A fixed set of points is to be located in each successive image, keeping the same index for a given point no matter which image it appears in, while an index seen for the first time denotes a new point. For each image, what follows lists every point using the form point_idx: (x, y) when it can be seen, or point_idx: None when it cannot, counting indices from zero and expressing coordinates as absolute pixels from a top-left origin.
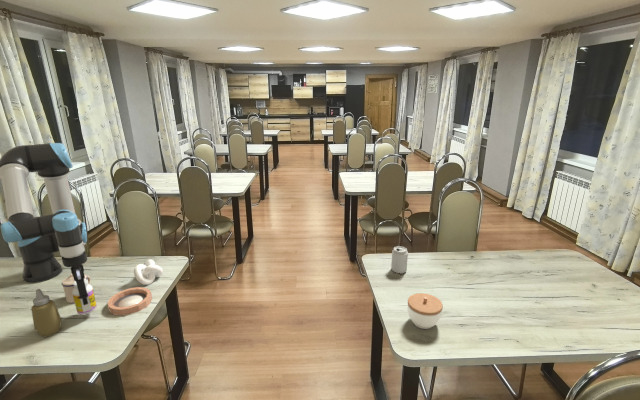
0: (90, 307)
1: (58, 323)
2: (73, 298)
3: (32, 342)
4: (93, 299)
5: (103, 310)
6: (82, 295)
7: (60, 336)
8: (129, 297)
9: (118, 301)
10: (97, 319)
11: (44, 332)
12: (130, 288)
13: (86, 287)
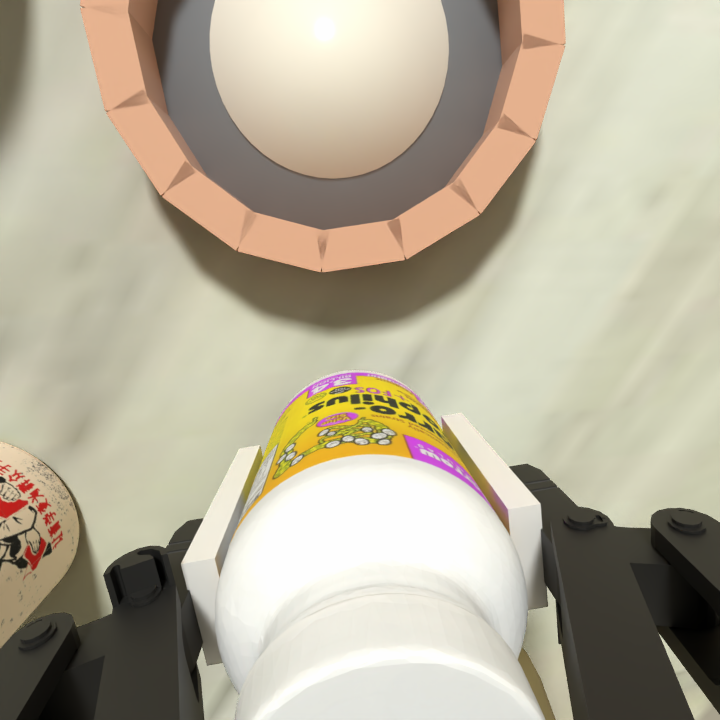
0: (468, 427)
1: None
2: (52, 573)
3: None
4: (411, 411)
5: (328, 315)
6: (714, 611)
7: None
8: (231, 60)
9: (259, 178)
10: (452, 356)
11: None
12: (88, 4)
13: (460, 584)
